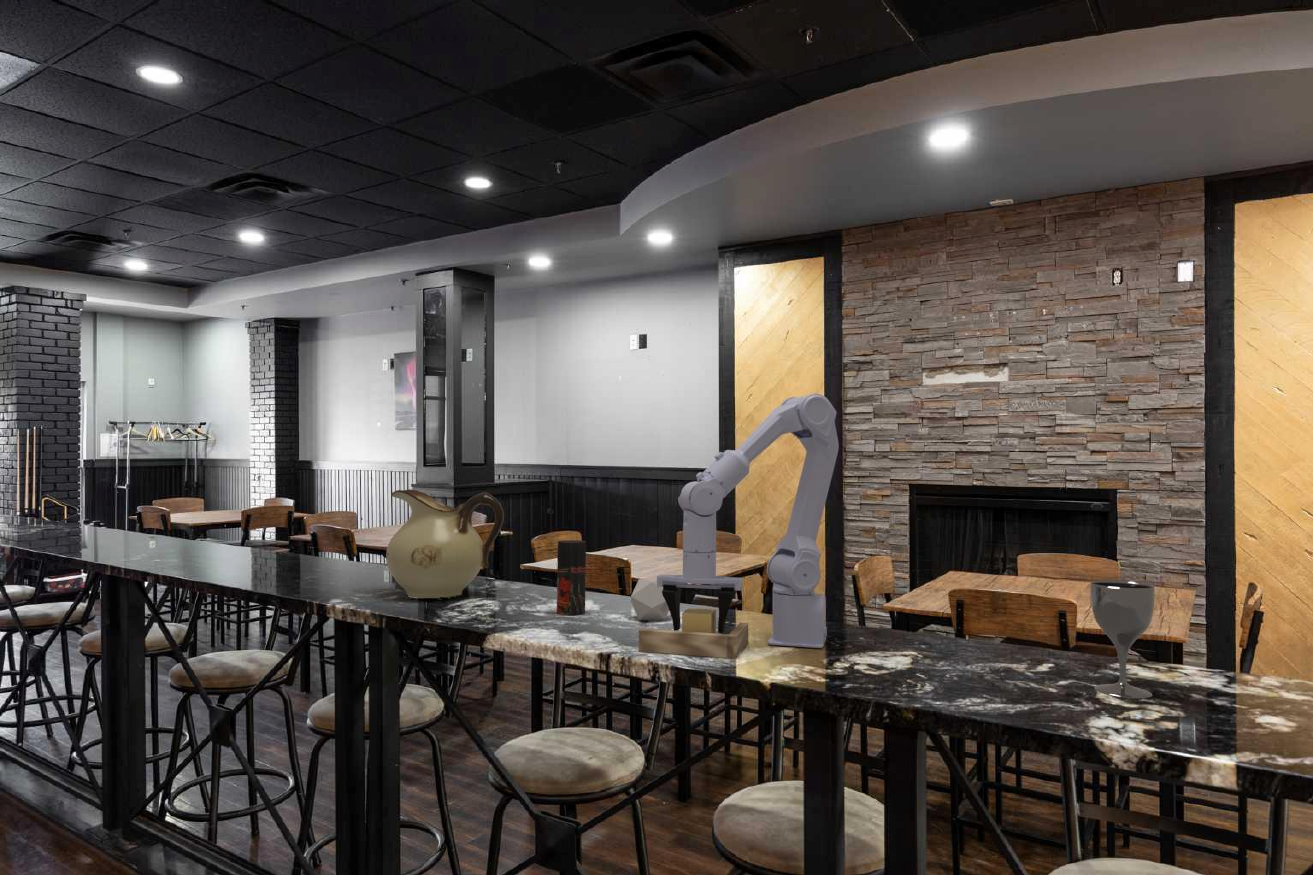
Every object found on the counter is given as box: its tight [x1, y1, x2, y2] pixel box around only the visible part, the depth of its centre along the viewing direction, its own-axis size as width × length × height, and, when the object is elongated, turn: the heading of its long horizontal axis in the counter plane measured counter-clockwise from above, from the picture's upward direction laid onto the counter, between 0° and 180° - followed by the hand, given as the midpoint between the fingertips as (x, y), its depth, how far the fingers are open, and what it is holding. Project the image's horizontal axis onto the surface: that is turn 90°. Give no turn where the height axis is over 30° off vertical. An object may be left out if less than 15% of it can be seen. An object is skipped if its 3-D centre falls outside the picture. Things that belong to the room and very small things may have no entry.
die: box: [630, 578, 670, 621], centre depth 167 cm, size 8×9×10 cm
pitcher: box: [385, 488, 505, 598], centre depth 194 cm, size 22×24×25 cm
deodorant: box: [556, 539, 587, 616], centre depth 173 cm, size 6×6×15 cm
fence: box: [638, 622, 749, 659], centre depth 141 cm, size 16×12×4 cm
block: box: [681, 607, 717, 634], centre depth 141 cm, size 5×5×6 cm
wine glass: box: [1089, 579, 1156, 699], centre depth 116 cm, size 8×8×15 cm
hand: (698, 630), depth 141 cm, fingers open, 7 cm apart
